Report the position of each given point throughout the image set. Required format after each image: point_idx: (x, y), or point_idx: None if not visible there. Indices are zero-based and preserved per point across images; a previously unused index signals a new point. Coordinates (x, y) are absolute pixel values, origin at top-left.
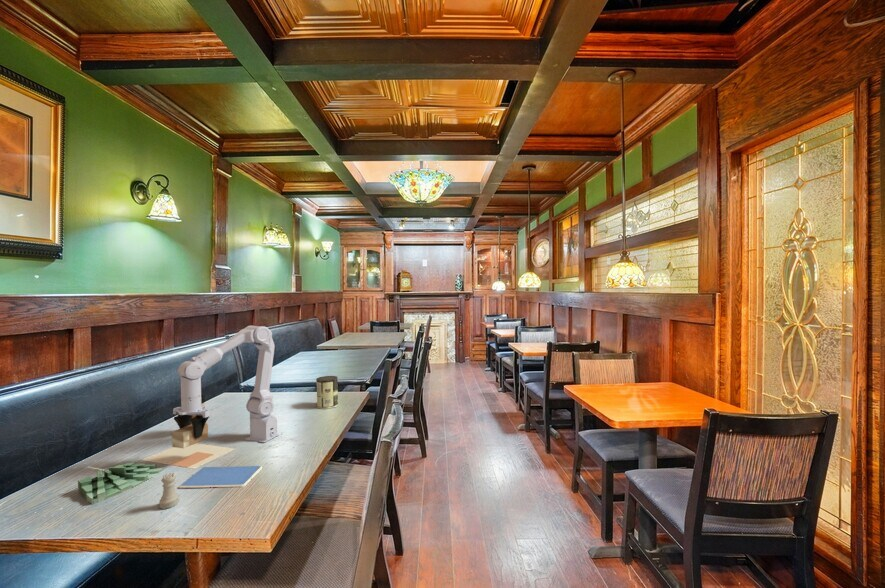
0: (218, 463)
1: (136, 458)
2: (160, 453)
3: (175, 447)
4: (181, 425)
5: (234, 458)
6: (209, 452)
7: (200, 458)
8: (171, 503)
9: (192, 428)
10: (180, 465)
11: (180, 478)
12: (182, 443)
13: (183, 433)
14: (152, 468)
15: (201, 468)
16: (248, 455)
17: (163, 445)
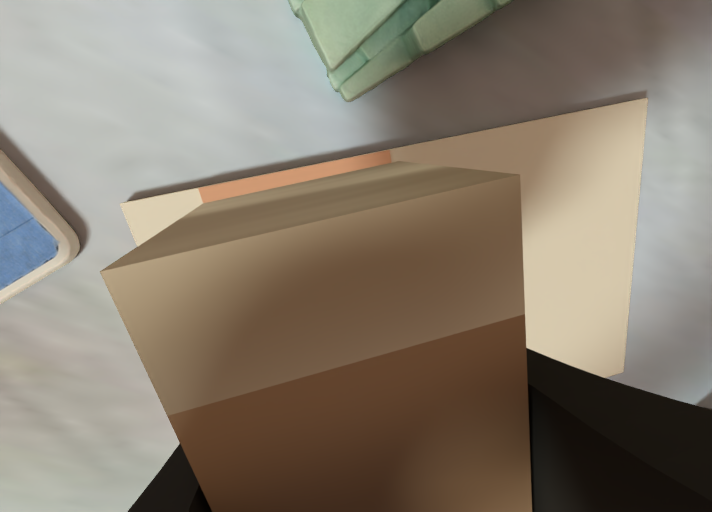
0: (100, 348)
1: (704, 110)
2: (618, 216)
3: (610, 306)
4: (580, 431)
5: (94, 438)
6: None
7: None
8: None
9: (285, 502)
10: (287, 179)
11: (44, 60)
12: (207, 208)
13: (106, 271)
14: (412, 25)
15: (62, 232)
16: (61, 503)
17: (707, 288)
